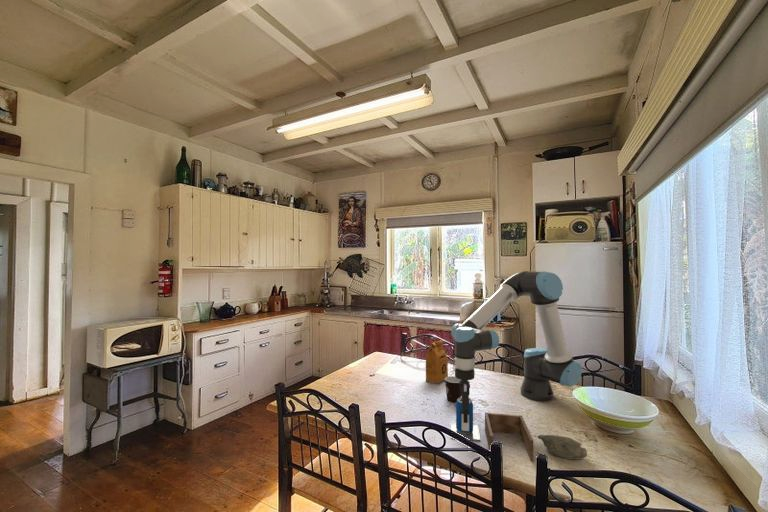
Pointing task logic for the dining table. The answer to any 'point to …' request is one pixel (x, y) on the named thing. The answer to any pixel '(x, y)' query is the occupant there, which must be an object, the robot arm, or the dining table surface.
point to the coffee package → (436, 363)
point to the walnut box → (508, 429)
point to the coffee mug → (452, 389)
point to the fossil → (563, 446)
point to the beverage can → (459, 416)
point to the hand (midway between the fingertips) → (464, 421)
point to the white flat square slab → (472, 436)
